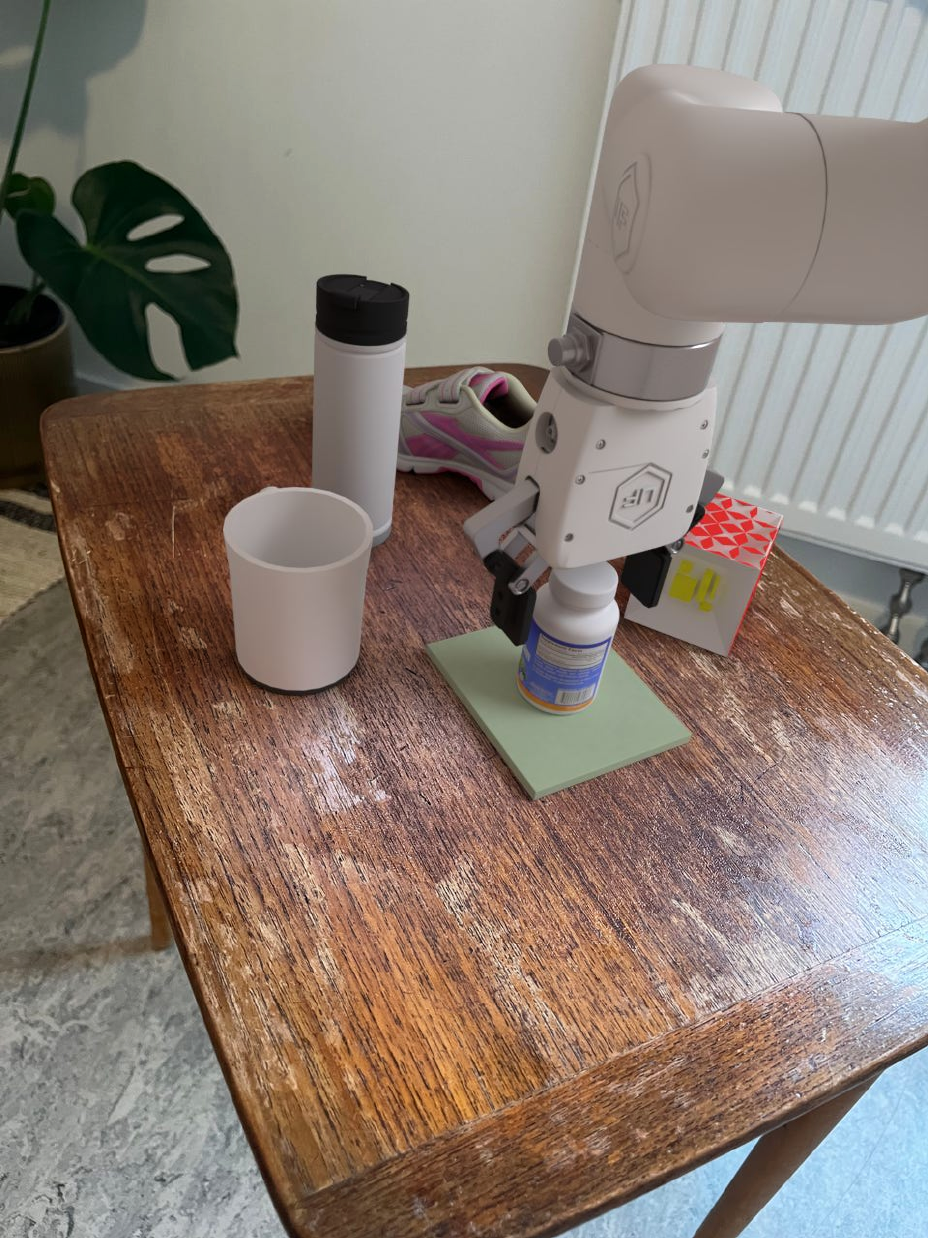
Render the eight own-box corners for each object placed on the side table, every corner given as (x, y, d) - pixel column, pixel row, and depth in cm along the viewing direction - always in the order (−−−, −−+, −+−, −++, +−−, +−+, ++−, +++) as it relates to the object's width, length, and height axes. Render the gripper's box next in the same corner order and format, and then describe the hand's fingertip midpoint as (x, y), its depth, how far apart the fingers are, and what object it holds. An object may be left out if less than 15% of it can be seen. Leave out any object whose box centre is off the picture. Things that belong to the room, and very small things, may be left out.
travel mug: (295, 540, 74) (296, 284, 61) (331, 499, 79) (339, 253, 66) (370, 563, 73) (388, 307, 60) (402, 519, 78) (424, 274, 65)
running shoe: (374, 407, 92) (381, 307, 85) (592, 483, 85) (615, 381, 79) (323, 446, 85) (325, 341, 79) (554, 531, 79) (576, 425, 73)
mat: (689, 742, 62) (692, 734, 62) (533, 801, 57) (535, 792, 56) (569, 612, 71) (571, 604, 71) (425, 652, 66) (426, 644, 65)
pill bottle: (530, 650, 66) (555, 534, 60) (605, 676, 65) (639, 561, 59) (503, 700, 62) (527, 581, 56) (583, 729, 61) (617, 611, 55)
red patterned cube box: (623, 617, 71) (648, 529, 66) (654, 564, 77) (680, 480, 72) (727, 658, 69) (762, 570, 64) (751, 600, 75) (785, 515, 70)
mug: (386, 681, 63) (397, 555, 57) (254, 716, 59) (249, 585, 53) (326, 584, 70) (329, 461, 64) (205, 609, 67) (195, 482, 60)
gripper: (533, 408, 42) (484, 689, 53) (814, 362, 50) (720, 616, 61) (452, 337, 47) (422, 608, 58) (720, 305, 55) (648, 550, 65)
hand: (575, 612), depth 59 cm, fingers open, 9 cm apart
